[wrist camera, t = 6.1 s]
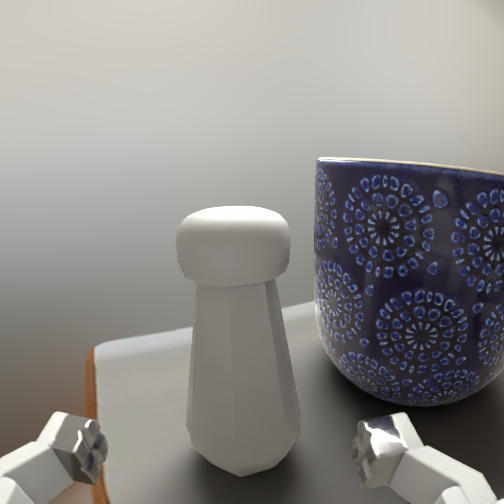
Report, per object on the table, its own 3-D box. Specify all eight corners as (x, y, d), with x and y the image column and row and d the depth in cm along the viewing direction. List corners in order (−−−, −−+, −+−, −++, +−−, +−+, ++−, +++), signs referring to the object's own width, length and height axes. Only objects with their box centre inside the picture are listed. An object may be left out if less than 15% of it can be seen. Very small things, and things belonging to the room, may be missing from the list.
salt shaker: (306, 423, 17) (321, 201, 14) (284, 499, 12) (299, 230, 8) (216, 407, 19) (197, 199, 15) (175, 470, 14) (120, 223, 10)
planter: (316, 453, 15) (343, 157, 11) (301, 317, 31) (303, 157, 27) (535, 406, 14) (597, 193, 10) (451, 310, 30) (468, 168, 25)
